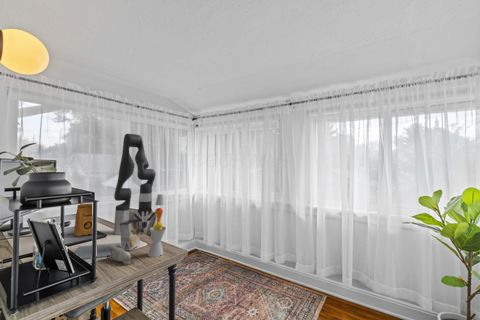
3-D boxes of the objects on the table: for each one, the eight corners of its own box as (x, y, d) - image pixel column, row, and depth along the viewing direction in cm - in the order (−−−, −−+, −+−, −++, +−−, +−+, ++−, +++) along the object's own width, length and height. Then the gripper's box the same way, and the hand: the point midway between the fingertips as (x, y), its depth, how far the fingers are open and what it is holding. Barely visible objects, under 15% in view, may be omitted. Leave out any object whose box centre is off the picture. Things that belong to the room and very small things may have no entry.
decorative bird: (124, 267, 108) (125, 252, 108) (104, 259, 115) (105, 245, 115) (133, 263, 113) (134, 248, 113) (113, 256, 120) (115, 242, 120)
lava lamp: (145, 253, 126) (150, 193, 128) (160, 250, 132) (165, 193, 133) (150, 258, 119) (155, 195, 121) (166, 255, 125) (170, 195, 126)
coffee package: (97, 234, 152) (100, 203, 153) (75, 238, 143) (78, 205, 144) (93, 231, 159) (96, 201, 160) (72, 234, 150) (75, 202, 151)
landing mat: (78, 247, 128) (78, 246, 128) (120, 243, 138) (120, 242, 138) (70, 260, 110) (70, 259, 110) (119, 255, 120) (119, 254, 120)
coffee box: (131, 243, 137) (130, 219, 137) (140, 244, 136) (139, 219, 136) (120, 250, 128) (119, 223, 128) (130, 250, 127) (128, 223, 127)
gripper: (155, 199, 143) (154, 225, 142) (133, 199, 136) (132, 227, 136) (157, 200, 136) (156, 228, 135) (134, 201, 130) (132, 230, 129)
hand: (144, 227), depth 135 cm, fingers closed
